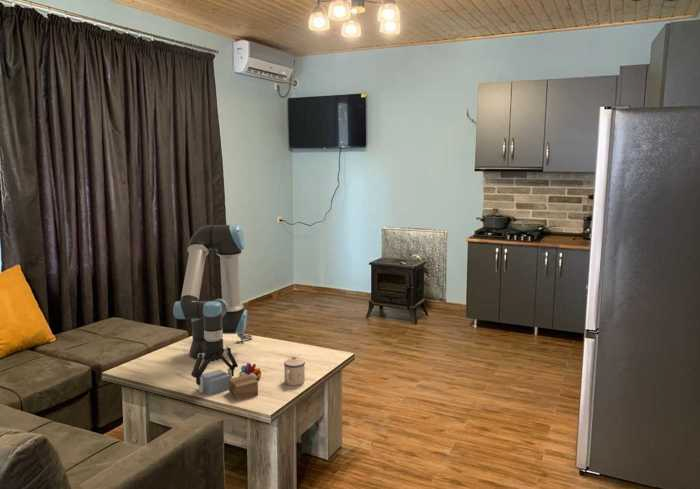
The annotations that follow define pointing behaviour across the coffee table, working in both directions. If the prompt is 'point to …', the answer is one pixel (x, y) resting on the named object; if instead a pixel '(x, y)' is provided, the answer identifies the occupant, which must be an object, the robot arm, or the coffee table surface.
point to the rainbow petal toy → (250, 371)
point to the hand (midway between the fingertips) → (215, 387)
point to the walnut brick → (243, 387)
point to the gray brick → (215, 381)
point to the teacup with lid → (294, 371)
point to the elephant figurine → (244, 336)
